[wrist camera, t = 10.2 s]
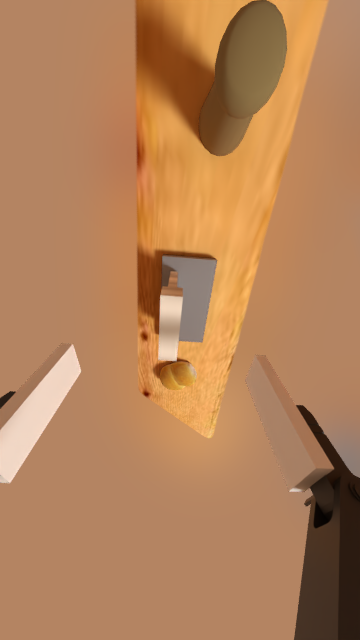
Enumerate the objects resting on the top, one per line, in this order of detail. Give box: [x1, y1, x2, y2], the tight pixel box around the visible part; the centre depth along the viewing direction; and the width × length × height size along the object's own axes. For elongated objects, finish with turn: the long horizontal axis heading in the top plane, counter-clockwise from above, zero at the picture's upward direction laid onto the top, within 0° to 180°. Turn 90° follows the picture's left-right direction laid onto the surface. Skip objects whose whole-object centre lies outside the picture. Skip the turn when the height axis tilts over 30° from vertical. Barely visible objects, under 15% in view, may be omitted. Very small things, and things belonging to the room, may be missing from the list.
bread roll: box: [160, 361, 197, 390], centre depth 42 cm, size 8×9×4 cm
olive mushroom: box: [199, 0, 287, 156], centre depth 17 cm, size 6×6×11 cm
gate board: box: [162, 254, 217, 342], centre depth 33 cm, size 17×9×2 cm, turn 176°
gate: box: [158, 271, 183, 361], centre depth 27 cm, size 12×3×10 cm, turn 175°
